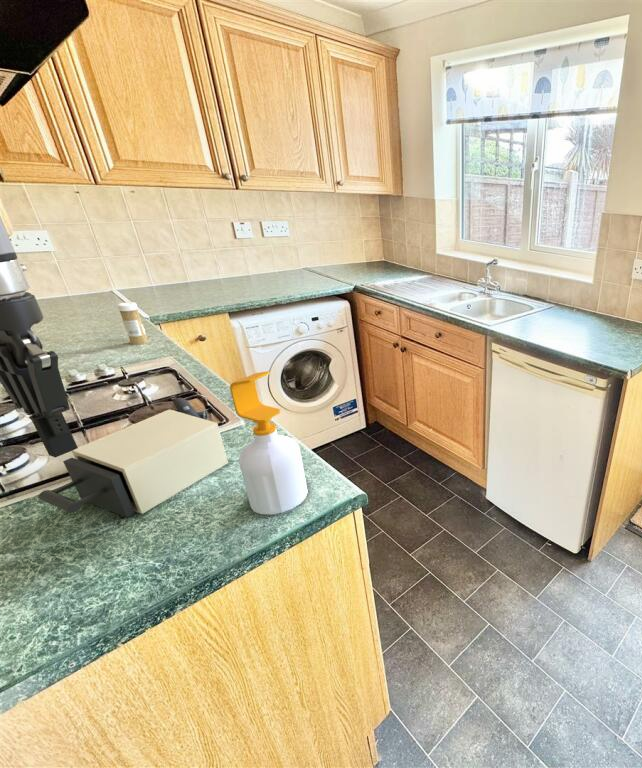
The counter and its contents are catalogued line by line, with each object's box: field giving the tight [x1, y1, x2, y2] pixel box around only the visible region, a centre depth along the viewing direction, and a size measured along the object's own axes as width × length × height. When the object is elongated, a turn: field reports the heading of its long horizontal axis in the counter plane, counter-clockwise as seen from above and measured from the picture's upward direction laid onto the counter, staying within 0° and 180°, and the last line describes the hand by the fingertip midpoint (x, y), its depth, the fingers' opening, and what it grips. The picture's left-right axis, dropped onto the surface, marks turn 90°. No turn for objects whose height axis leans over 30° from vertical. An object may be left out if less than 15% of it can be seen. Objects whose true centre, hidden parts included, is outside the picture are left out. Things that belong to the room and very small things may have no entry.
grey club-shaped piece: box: [173, 397, 210, 420], centre depth 94 cm, size 18×7×6 cm, turn 43°
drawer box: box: [71, 409, 229, 515], centre depth 76 cm, size 16×13×10 cm
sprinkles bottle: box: [116, 301, 149, 346], centre depth 133 cm, size 5×5×14 cm
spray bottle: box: [229, 370, 308, 516], centre depth 70 cm, size 9×9×25 cm
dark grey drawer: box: [38, 457, 136, 518], centre depth 72 cm, size 20×11×8 cm, turn 161°
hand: (63, 451), depth 63 cm, fingers closed
